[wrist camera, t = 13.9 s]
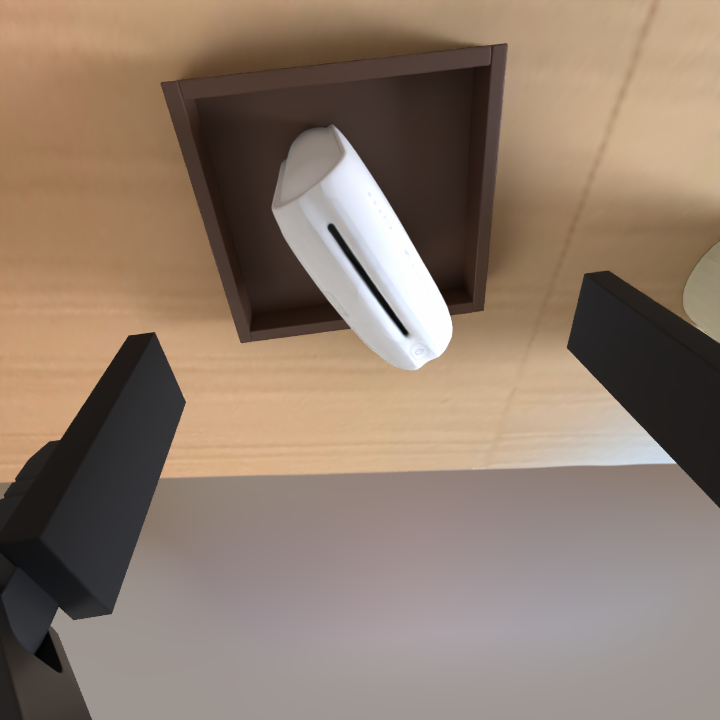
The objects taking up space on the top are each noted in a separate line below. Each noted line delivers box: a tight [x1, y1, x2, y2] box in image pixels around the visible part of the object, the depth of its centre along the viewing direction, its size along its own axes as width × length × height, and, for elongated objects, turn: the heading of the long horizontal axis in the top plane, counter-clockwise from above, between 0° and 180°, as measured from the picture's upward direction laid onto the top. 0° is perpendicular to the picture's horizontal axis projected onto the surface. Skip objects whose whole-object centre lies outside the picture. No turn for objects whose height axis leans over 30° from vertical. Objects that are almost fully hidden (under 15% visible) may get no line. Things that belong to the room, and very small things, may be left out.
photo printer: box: [272, 124, 452, 370], centre depth 21 cm, size 10×4×12 cm, turn 33°
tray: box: [161, 43, 508, 343], centre depth 25 cm, size 17×15×3 cm
